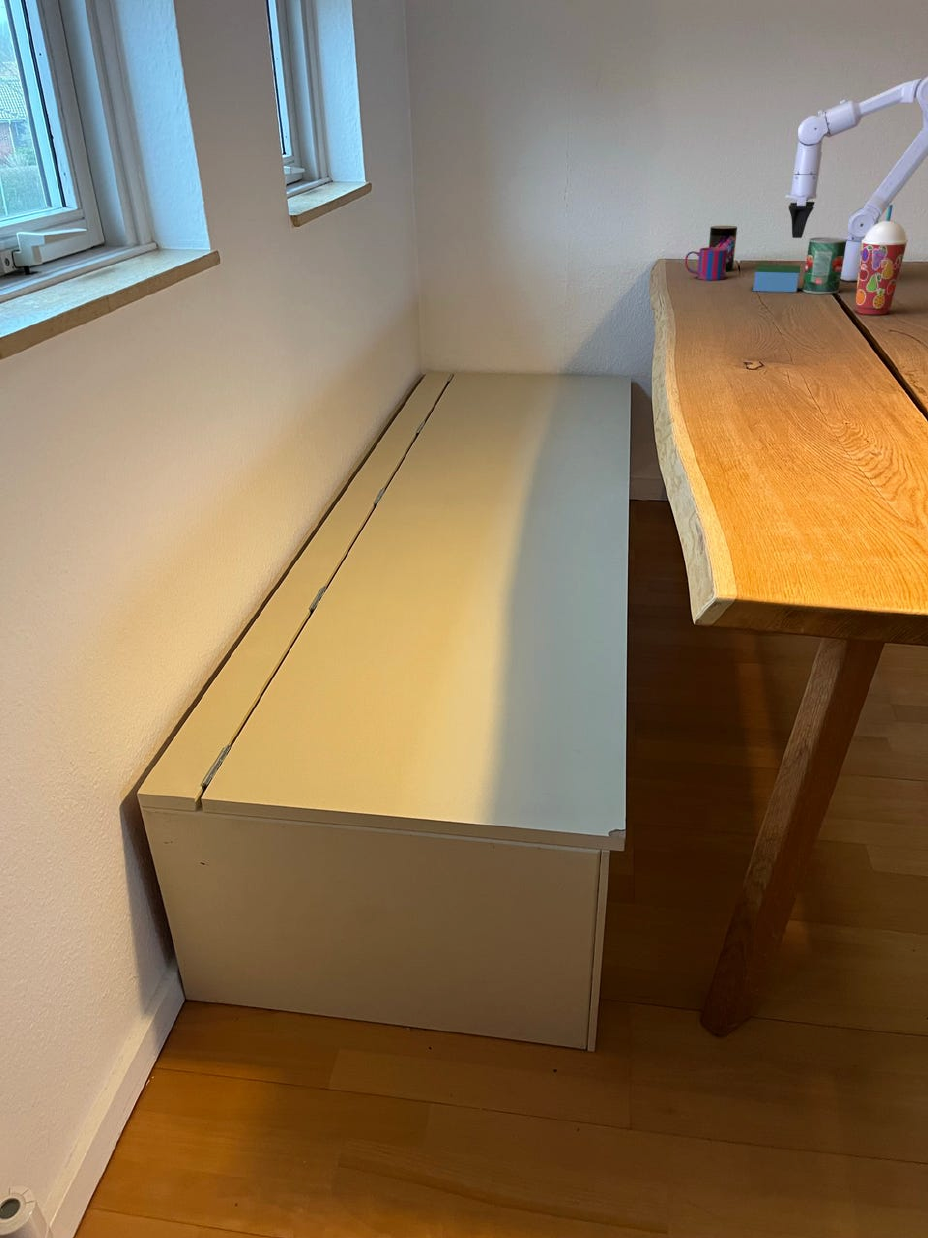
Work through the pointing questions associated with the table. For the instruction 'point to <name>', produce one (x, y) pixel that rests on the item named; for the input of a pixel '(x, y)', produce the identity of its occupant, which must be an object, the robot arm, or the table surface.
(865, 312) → the smoothie
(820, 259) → the canned tomato
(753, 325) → the table surface
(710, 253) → the mug
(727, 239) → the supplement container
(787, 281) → the sponge
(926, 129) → the robot arm
